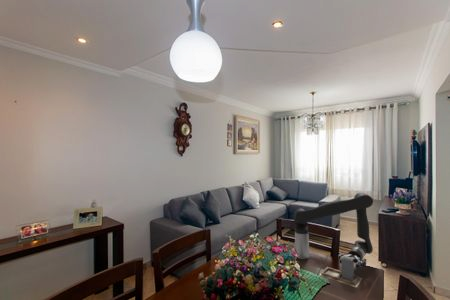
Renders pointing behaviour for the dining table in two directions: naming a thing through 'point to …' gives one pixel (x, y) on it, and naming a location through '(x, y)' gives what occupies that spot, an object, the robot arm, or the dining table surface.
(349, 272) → the plug
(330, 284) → the dining table surface
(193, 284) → the dining table surface
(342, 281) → the dock
